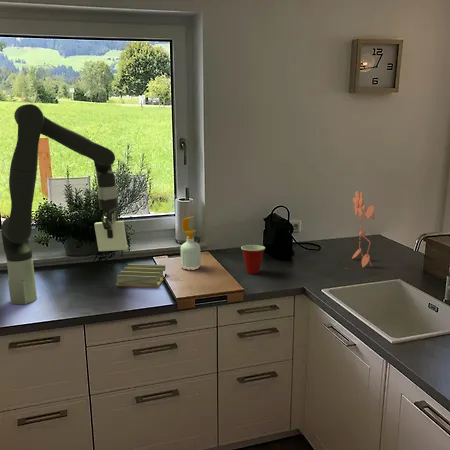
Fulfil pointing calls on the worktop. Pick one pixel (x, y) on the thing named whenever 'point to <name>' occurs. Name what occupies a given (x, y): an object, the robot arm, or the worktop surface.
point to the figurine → (368, 213)
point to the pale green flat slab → (111, 243)
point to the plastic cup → (253, 257)
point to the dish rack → (141, 275)
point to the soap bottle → (190, 247)
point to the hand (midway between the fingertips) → (111, 236)
